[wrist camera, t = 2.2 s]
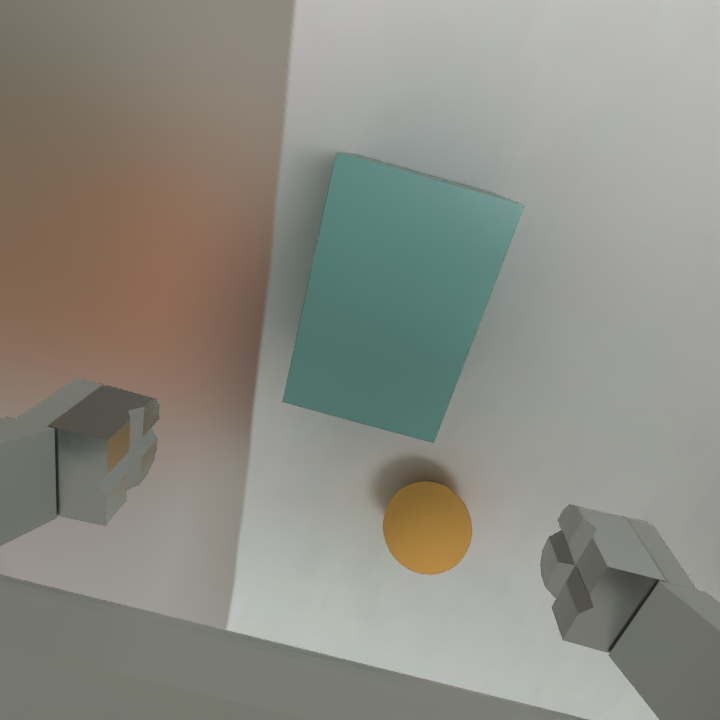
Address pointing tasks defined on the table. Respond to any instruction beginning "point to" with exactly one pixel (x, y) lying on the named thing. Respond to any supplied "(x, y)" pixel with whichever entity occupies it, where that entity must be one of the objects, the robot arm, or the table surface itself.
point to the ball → (427, 527)
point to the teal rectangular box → (395, 294)
